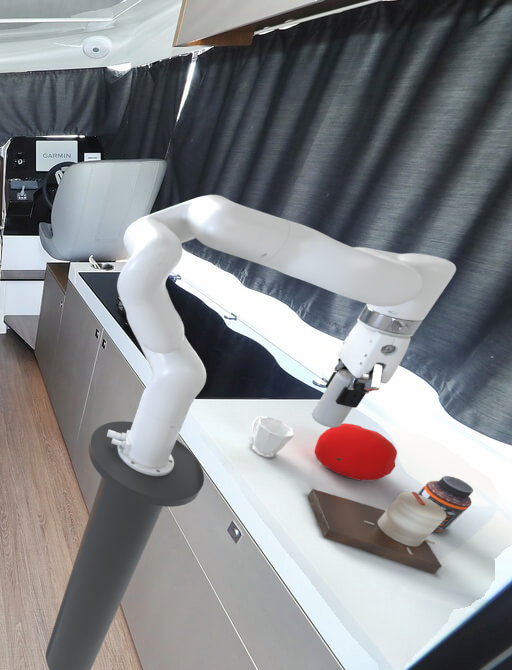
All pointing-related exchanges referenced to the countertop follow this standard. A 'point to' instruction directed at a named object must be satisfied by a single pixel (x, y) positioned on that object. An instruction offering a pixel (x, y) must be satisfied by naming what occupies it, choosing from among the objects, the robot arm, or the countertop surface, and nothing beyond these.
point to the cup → (270, 435)
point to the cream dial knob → (411, 518)
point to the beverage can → (333, 401)
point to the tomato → (356, 452)
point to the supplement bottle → (448, 498)
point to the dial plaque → (366, 531)
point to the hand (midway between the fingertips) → (340, 396)
